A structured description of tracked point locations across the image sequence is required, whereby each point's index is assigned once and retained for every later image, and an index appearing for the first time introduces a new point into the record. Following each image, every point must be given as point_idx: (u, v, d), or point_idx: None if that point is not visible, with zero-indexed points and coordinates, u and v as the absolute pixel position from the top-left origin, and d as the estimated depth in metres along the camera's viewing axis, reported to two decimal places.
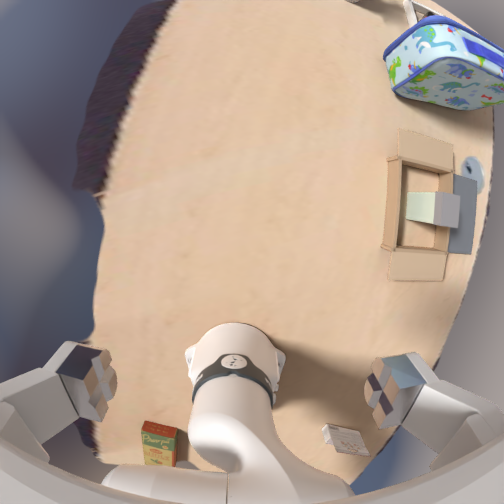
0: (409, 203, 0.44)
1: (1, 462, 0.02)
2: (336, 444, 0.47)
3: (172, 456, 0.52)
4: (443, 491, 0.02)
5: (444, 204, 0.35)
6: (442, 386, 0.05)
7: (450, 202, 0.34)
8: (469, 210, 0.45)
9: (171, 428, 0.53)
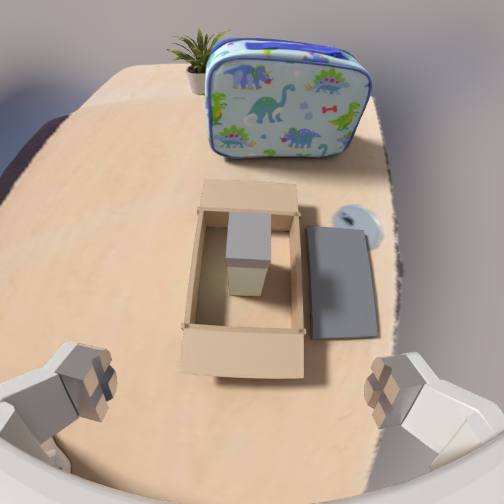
0: None
1: (1, 462, 0.02)
2: None
3: None
4: (443, 491, 0.02)
5: (233, 227, 0.27)
6: (442, 386, 0.05)
7: (247, 224, 0.28)
8: (355, 270, 0.37)
9: None
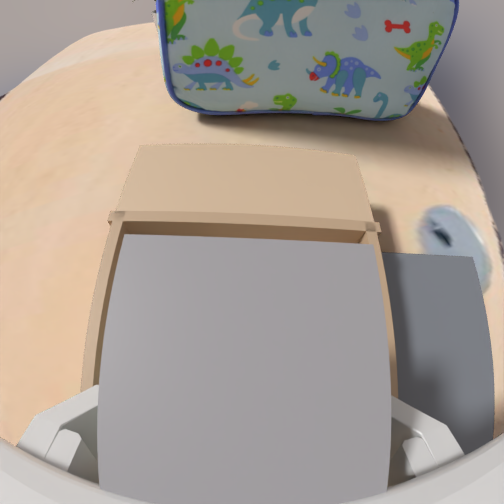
0: None
1: (1, 462, 0.02)
2: None
3: None
4: (443, 491, 0.02)
5: (136, 352, 0.03)
6: None
7: (233, 325, 0.04)
8: (472, 346, 0.13)
9: None
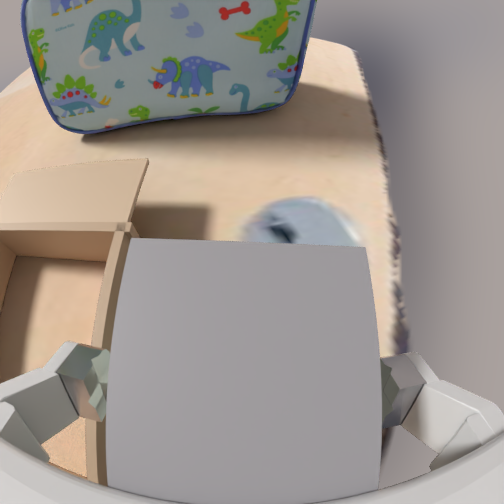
0: None
1: (1, 462, 0.02)
2: None
3: None
4: (443, 491, 0.02)
5: (143, 348, 0.04)
6: (442, 386, 0.05)
7: (233, 323, 0.04)
8: None
9: None
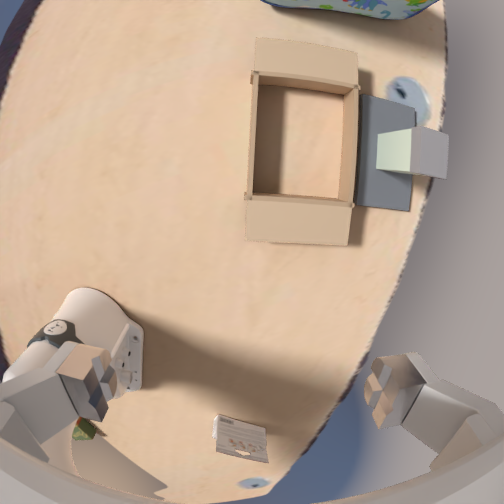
0: (380, 148, 0.33)
1: (1, 462, 0.02)
2: (220, 441, 0.42)
3: None
4: (443, 491, 0.02)
5: (424, 143, 0.24)
6: (442, 386, 0.05)
7: (433, 142, 0.23)
8: None
9: None
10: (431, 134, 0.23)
